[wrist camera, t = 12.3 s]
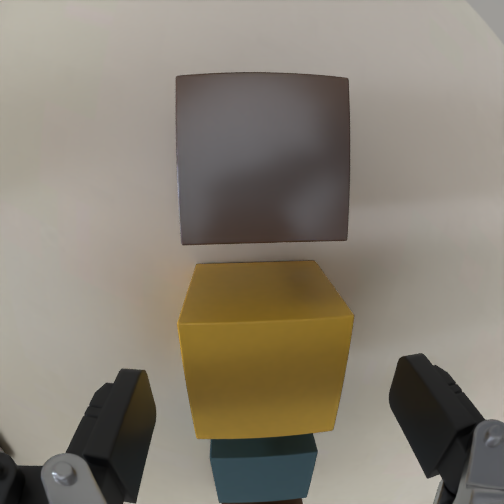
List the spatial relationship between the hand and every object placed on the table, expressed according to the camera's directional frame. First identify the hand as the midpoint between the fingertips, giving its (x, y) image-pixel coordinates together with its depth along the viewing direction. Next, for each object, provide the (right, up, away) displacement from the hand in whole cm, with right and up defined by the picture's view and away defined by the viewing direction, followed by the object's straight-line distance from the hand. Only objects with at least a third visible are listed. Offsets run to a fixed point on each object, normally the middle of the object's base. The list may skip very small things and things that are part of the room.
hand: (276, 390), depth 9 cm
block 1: (-1, +8, +3) cm, 8 cm away
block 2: (0, -5, +7) cm, 9 cm away
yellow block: (-1, +1, +5) cm, 5 cm away
